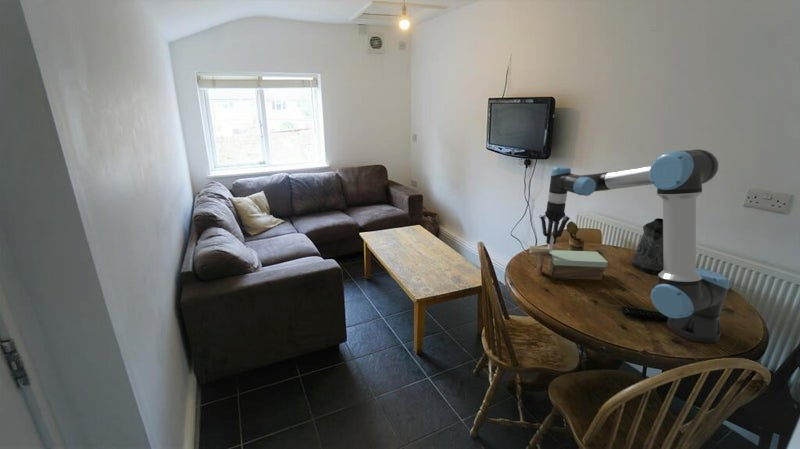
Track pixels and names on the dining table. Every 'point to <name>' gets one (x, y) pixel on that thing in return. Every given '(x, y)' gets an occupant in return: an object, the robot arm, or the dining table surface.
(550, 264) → the toolbox
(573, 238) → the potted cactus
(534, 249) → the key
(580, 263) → the lid
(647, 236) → the beer stein
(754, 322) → the dining table surface
